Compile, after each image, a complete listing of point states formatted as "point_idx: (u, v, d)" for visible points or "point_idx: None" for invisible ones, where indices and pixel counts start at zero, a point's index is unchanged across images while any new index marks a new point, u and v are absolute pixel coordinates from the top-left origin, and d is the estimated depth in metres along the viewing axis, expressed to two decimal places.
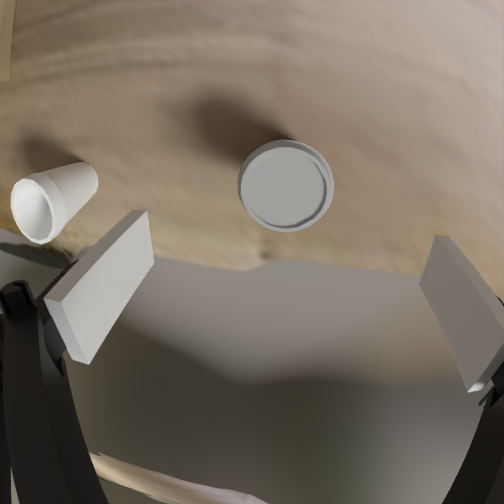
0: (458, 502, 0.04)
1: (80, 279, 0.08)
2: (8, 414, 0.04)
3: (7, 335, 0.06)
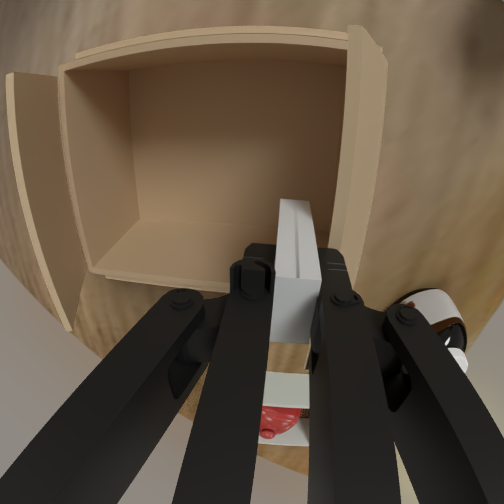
0: (317, 495, 0.04)
1: (298, 258, 0.10)
2: (205, 401, 0.05)
3: (228, 312, 0.08)
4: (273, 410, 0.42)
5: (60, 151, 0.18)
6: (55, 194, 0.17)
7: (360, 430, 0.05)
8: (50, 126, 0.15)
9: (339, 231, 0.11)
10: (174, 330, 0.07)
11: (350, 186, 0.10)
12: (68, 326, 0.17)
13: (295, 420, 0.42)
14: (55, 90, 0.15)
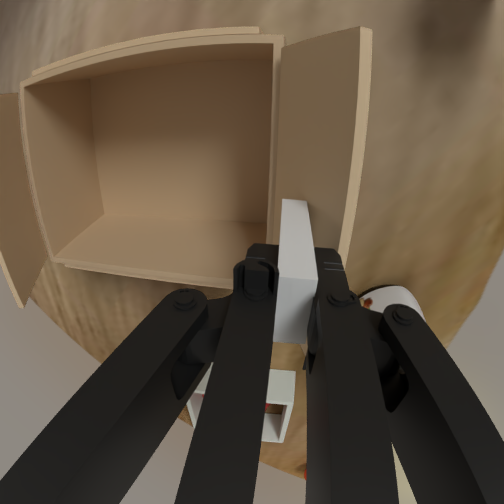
0: (314, 495, 0.04)
1: (301, 258, 0.10)
2: (208, 402, 0.05)
3: (232, 312, 0.08)
4: None
5: (21, 156, 0.19)
6: (14, 193, 0.18)
7: (357, 431, 0.05)
8: (10, 136, 0.17)
9: (349, 228, 0.11)
10: (177, 331, 0.07)
11: (358, 183, 0.10)
12: (20, 304, 0.18)
13: None
14: (16, 104, 0.17)
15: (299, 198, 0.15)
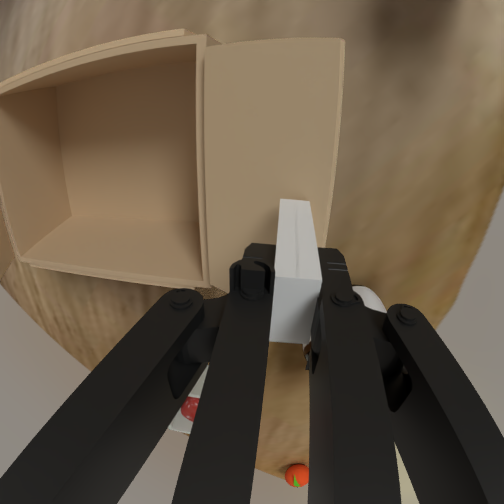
0: (317, 495, 0.04)
1: (298, 258, 0.10)
2: (205, 401, 0.05)
3: (228, 312, 0.08)
4: None
5: None
6: None
7: (360, 430, 0.05)
8: None
9: (330, 200, 0.14)
10: (173, 330, 0.07)
11: (334, 163, 0.13)
12: None
13: None
14: None
15: (254, 188, 0.16)
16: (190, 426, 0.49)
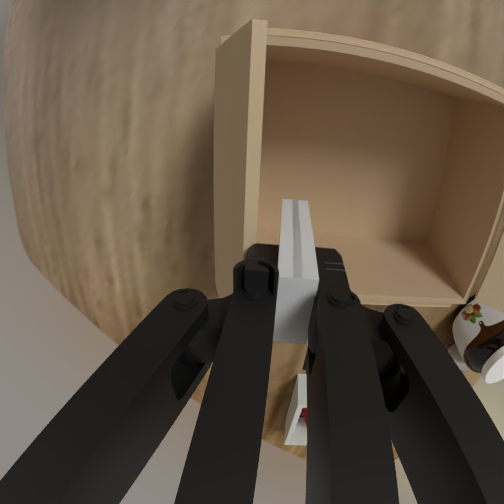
0: (314, 495, 0.04)
1: (301, 258, 0.10)
2: (208, 402, 0.05)
3: (232, 312, 0.08)
4: None
5: None
6: None
7: (357, 431, 0.05)
8: None
9: None
10: (177, 331, 0.07)
11: None
12: None
13: None
14: None
15: None
16: None
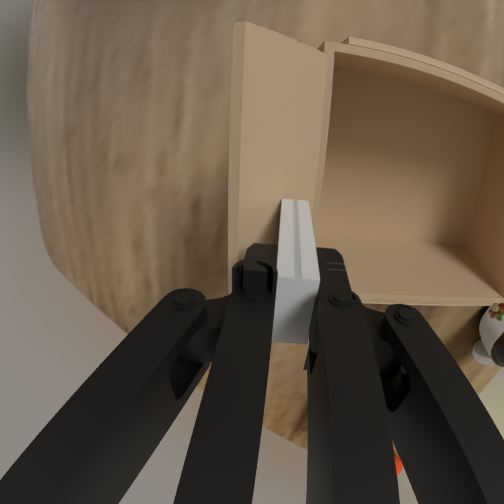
0: (315, 495, 0.04)
1: (300, 258, 0.10)
2: (207, 401, 0.05)
3: (230, 312, 0.08)
4: None
5: (316, 150, 0.16)
6: None
7: (358, 430, 0.05)
8: (307, 115, 0.14)
9: None
10: (176, 330, 0.07)
11: None
12: None
13: None
14: (323, 70, 0.14)
15: None
16: None
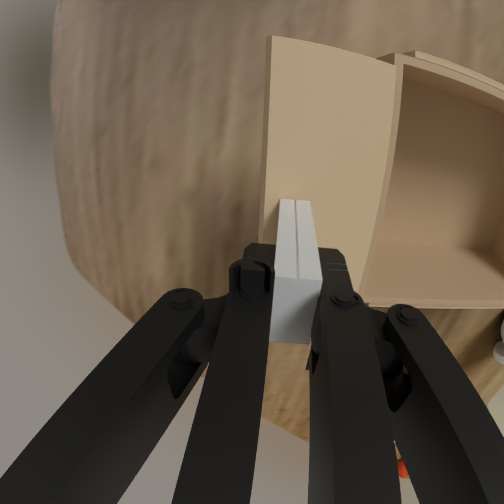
0: (317, 495, 0.04)
1: (298, 257, 0.10)
2: (205, 401, 0.05)
3: (228, 311, 0.08)
4: None
5: (381, 158, 0.16)
6: (339, 201, 0.16)
7: (360, 430, 0.05)
8: (365, 121, 0.14)
9: None
10: (174, 330, 0.07)
11: None
12: None
13: None
14: (390, 80, 0.13)
15: None
16: None
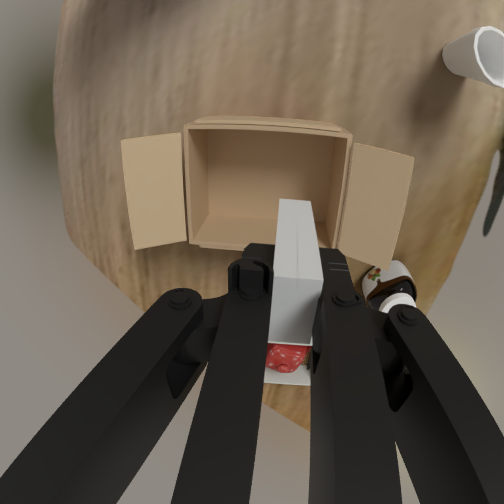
0: (318, 494, 0.04)
1: (297, 257, 0.10)
2: (204, 401, 0.05)
3: (227, 312, 0.08)
4: (285, 348, 0.63)
5: (178, 174, 0.39)
6: (159, 194, 0.40)
7: (361, 430, 0.05)
8: (165, 161, 0.38)
9: (403, 214, 0.35)
10: (172, 330, 0.07)
11: (405, 201, 0.34)
12: (134, 247, 0.42)
13: (302, 356, 0.64)
14: (177, 140, 0.37)
15: (372, 208, 0.37)
16: (267, 376, 0.70)
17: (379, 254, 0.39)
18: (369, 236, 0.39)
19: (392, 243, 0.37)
